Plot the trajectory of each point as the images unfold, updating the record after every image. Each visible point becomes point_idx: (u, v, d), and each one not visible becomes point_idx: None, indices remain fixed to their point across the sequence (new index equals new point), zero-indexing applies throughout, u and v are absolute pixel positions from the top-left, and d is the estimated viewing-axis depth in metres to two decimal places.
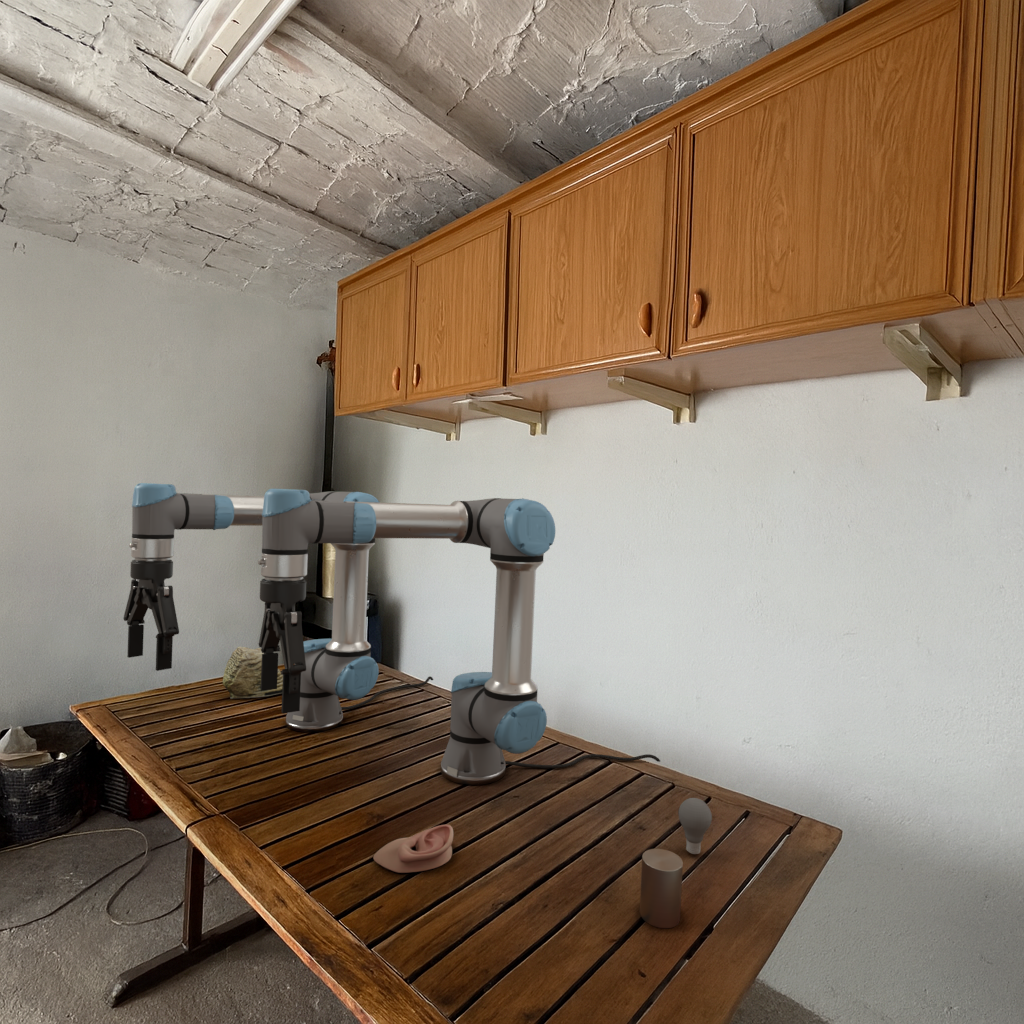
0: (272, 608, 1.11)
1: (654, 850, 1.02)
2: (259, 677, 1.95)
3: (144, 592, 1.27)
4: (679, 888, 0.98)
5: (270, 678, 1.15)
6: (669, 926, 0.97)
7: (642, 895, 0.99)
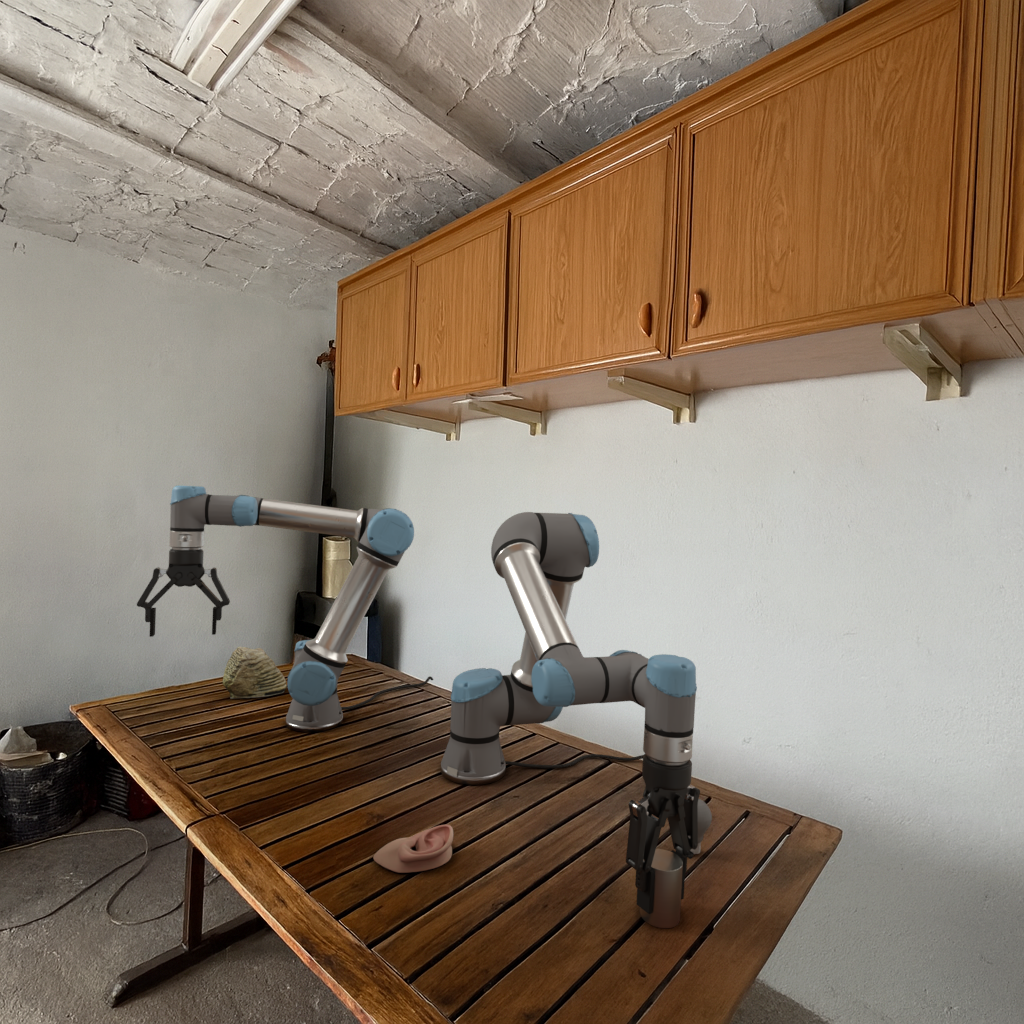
0: (660, 797, 0.97)
1: None
2: (259, 677, 1.95)
3: (192, 575, 1.54)
4: (679, 888, 0.98)
5: None
6: (669, 926, 0.97)
7: None
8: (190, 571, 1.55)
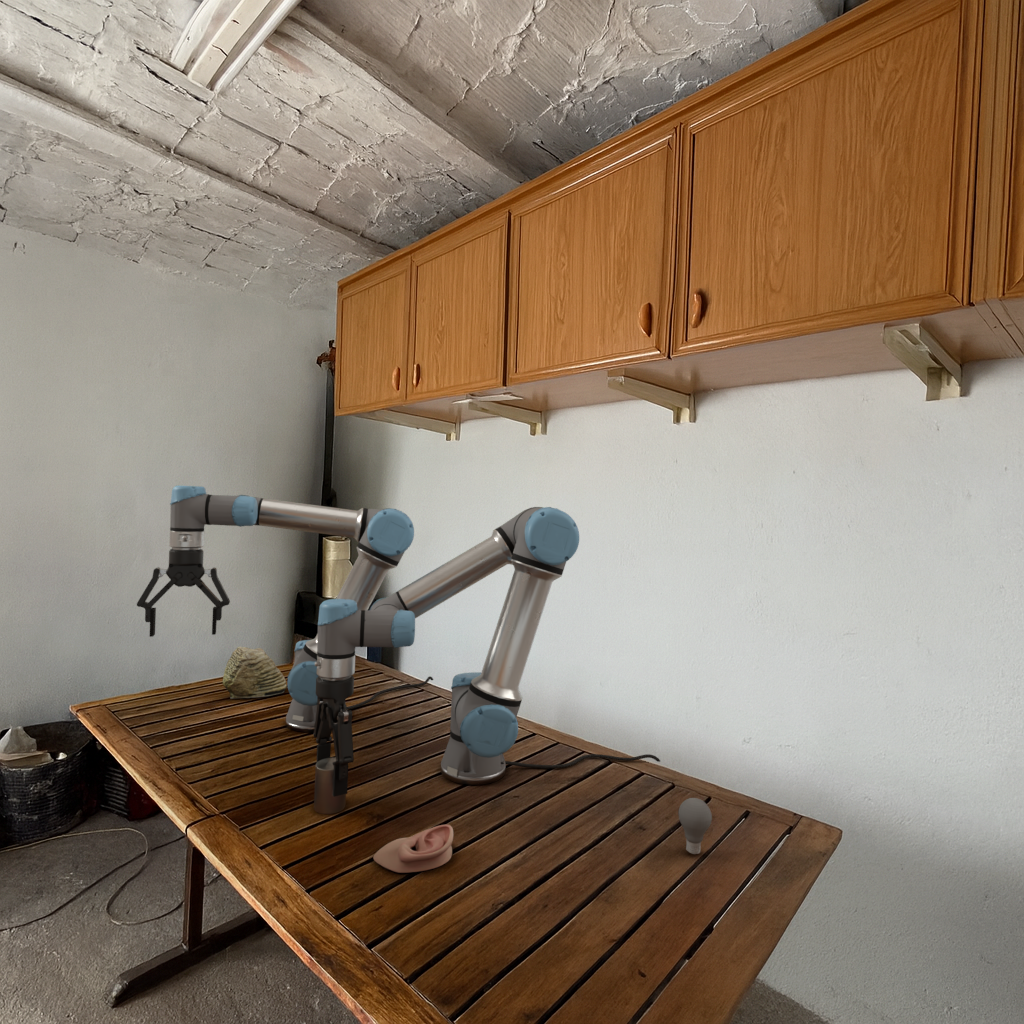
0: (325, 700, 1.31)
1: None
2: (259, 677, 1.95)
3: (192, 575, 1.54)
4: (317, 784, 1.27)
5: None
6: None
7: None
8: (190, 571, 1.55)
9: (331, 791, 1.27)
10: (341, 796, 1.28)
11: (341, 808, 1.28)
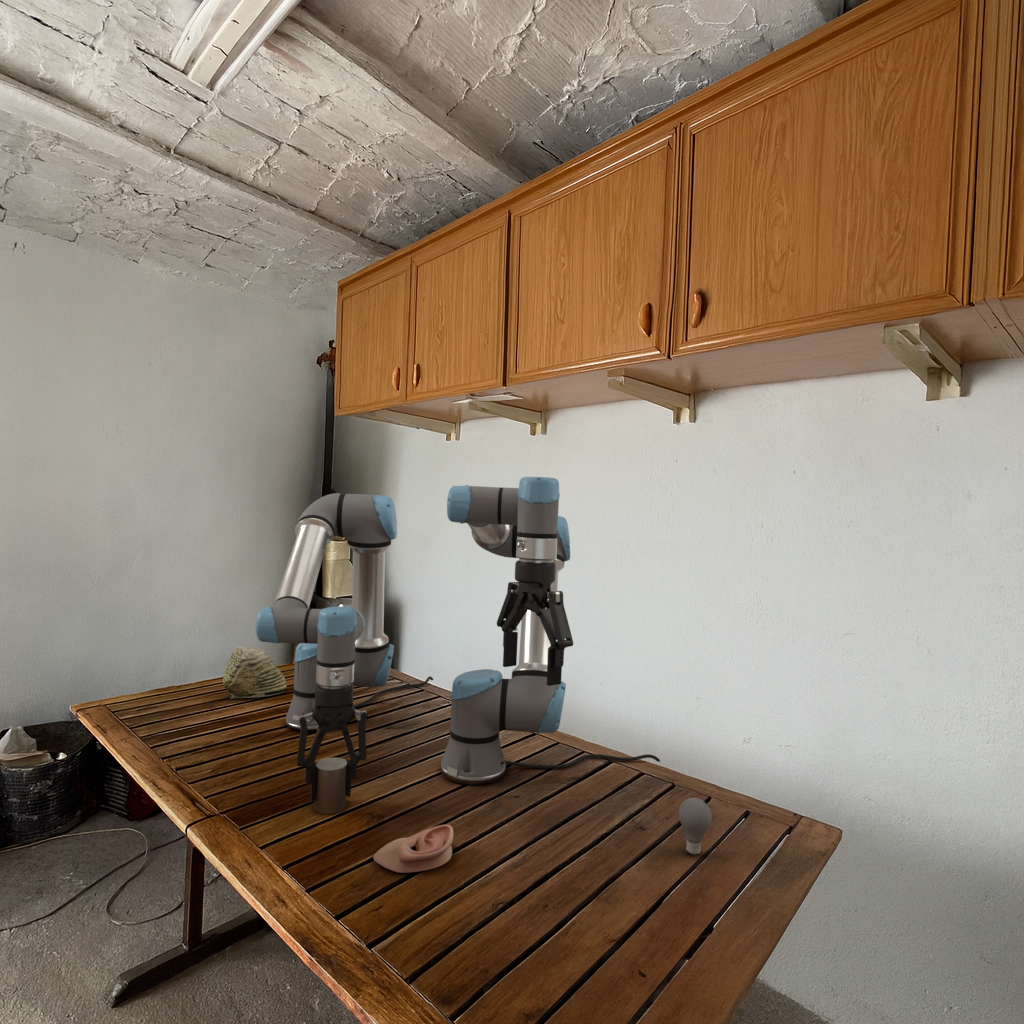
0: (522, 589, 1.18)
1: (344, 762, 1.30)
2: (259, 677, 1.95)
3: (342, 718, 1.28)
4: (318, 784, 1.27)
5: (511, 655, 1.23)
6: (314, 806, 1.29)
7: None
8: (341, 712, 1.29)
9: (331, 791, 1.27)
10: (341, 796, 1.28)
11: (341, 808, 1.28)
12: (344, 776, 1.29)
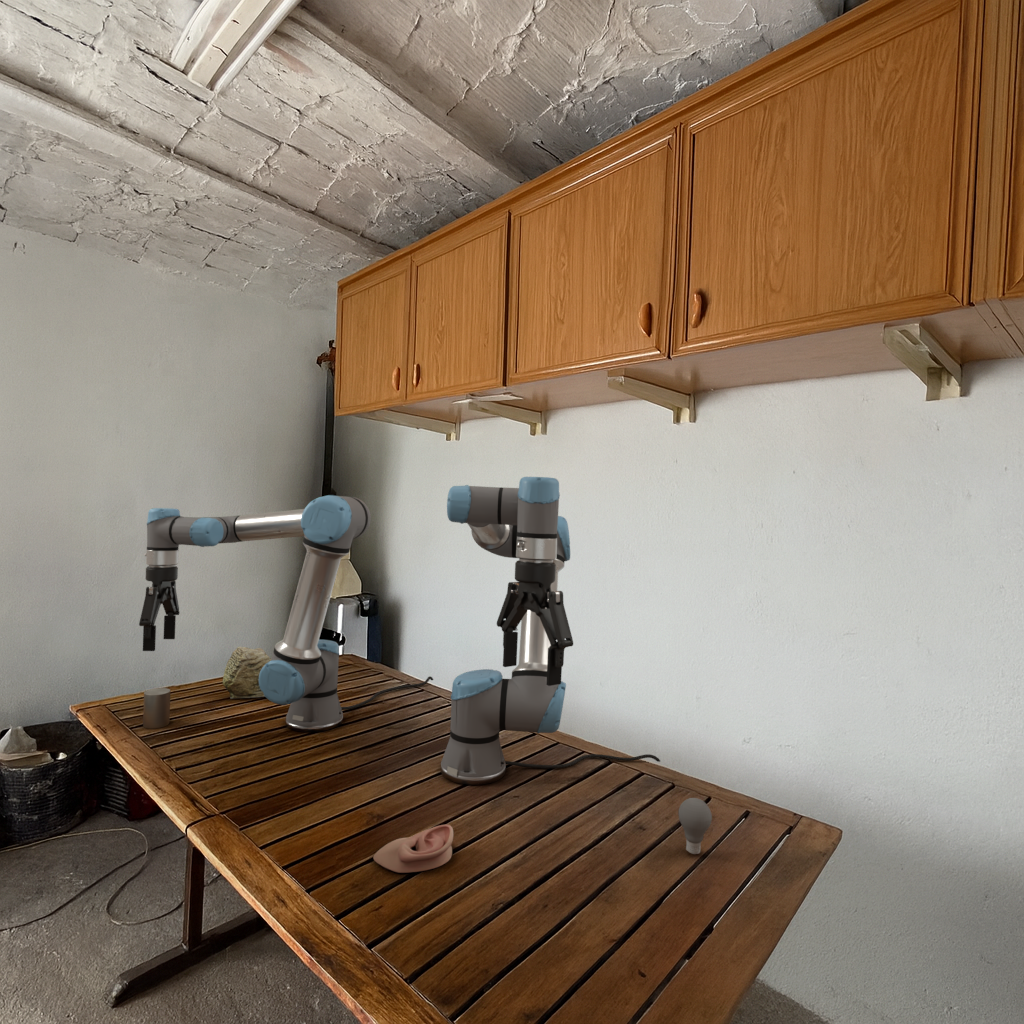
0: (522, 589, 1.18)
1: (152, 694, 1.67)
2: None
3: None
4: None
5: (511, 655, 1.23)
6: None
7: (168, 711, 1.70)
8: None
9: None
10: (144, 716, 1.68)
11: (143, 725, 1.68)
12: (145, 702, 1.67)
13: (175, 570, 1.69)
